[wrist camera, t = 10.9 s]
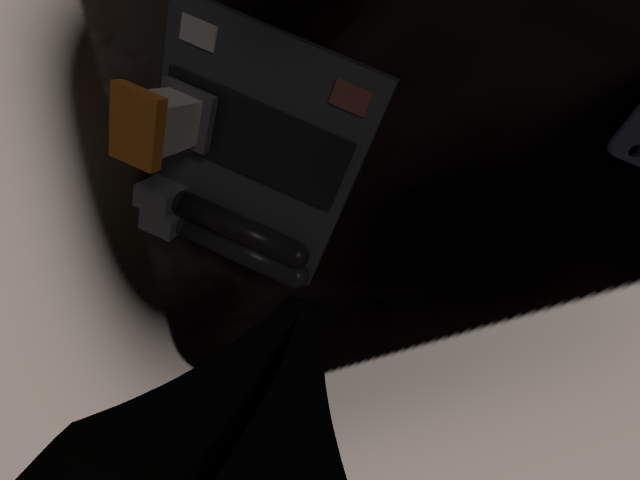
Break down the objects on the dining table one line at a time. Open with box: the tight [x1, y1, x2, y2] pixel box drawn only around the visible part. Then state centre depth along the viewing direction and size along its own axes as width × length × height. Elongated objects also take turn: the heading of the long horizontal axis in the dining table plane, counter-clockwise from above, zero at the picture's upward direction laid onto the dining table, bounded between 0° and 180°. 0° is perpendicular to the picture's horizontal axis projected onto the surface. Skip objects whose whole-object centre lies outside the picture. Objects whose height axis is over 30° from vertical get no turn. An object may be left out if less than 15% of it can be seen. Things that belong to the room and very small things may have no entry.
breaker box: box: [132, 0, 400, 289], centre depth 17 cm, size 10×11×5 cm
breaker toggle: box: [109, 76, 219, 174], centre depth 14 cm, size 2×3×4 cm
